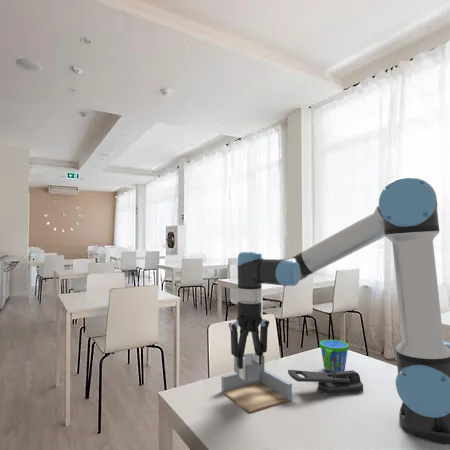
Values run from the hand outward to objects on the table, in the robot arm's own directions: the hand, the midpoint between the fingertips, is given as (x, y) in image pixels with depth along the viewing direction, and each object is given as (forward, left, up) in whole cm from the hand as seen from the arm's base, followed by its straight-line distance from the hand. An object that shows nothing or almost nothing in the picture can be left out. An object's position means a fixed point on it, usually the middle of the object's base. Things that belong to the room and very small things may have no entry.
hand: (249, 377), depth 105 cm
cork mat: (+2, -3, -8) cm, 8 cm away
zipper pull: (-6, -26, -8) cm, 28 cm away
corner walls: (+2, -4, -8) cm, 9 cm away
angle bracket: (+2, -3, 0) cm, 3 cm away
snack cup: (+4, -42, -8) cm, 43 cm away
